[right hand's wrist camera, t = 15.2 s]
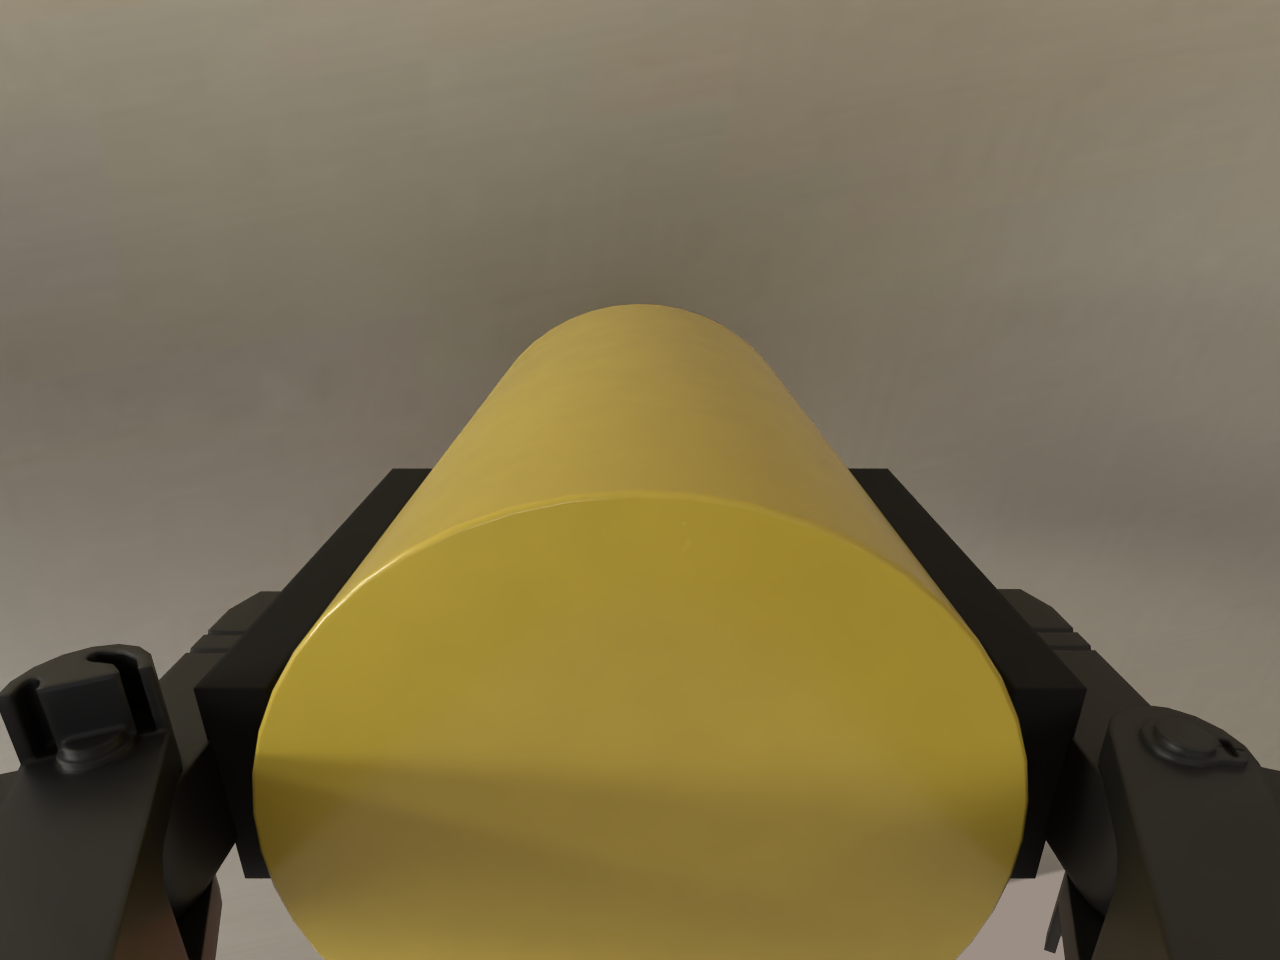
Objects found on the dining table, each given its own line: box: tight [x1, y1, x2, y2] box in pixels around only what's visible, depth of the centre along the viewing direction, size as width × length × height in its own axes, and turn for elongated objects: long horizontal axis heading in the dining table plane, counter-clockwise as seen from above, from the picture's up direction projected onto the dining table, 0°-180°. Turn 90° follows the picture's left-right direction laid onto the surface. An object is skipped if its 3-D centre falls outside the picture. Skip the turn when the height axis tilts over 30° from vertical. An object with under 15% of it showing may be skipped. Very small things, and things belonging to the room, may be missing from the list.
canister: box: [252, 304, 1028, 960], centre depth 13 cm, size 8×8×11 cm
